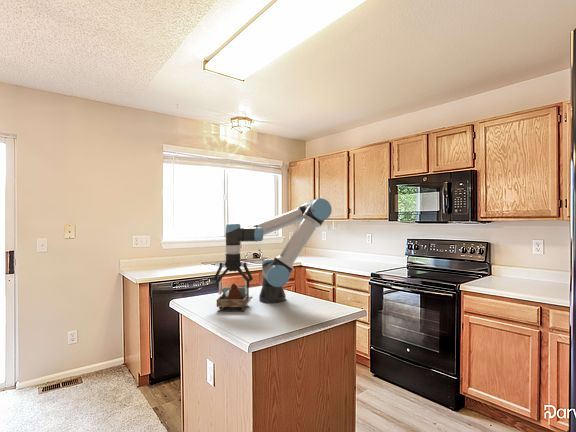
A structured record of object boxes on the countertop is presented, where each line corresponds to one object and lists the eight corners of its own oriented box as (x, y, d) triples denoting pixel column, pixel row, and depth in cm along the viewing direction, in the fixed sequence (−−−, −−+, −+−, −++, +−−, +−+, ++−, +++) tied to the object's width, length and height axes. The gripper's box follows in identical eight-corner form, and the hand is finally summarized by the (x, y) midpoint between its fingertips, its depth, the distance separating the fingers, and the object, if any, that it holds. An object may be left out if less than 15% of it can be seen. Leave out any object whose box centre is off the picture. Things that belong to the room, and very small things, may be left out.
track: (252, 297, 196) (252, 296, 196) (243, 312, 164) (243, 311, 164) (230, 297, 196) (230, 296, 196) (217, 311, 164) (217, 311, 164)
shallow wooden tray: (248, 303, 178) (248, 287, 179) (244, 310, 164) (244, 292, 165) (223, 303, 179) (223, 287, 179) (216, 310, 165) (216, 292, 165)
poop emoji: (240, 303, 168) (240, 285, 168) (223, 303, 168) (223, 285, 168) (243, 298, 178) (243, 281, 178) (227, 298, 178) (227, 281, 178)
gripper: (257, 252, 175) (257, 292, 175) (211, 252, 176) (211, 292, 176) (255, 253, 168) (256, 295, 168) (207, 253, 169) (207, 295, 168)
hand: (233, 294), depth 172 cm, fingers open, 13 cm apart
